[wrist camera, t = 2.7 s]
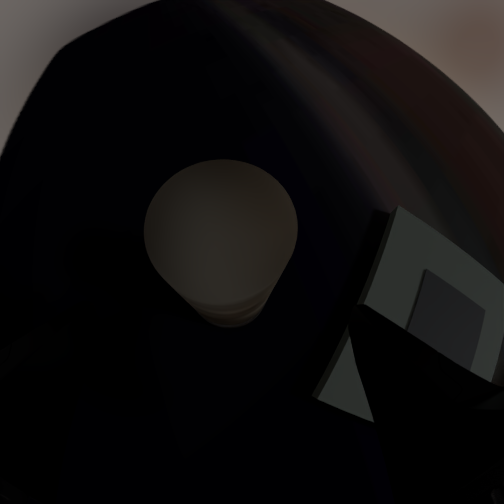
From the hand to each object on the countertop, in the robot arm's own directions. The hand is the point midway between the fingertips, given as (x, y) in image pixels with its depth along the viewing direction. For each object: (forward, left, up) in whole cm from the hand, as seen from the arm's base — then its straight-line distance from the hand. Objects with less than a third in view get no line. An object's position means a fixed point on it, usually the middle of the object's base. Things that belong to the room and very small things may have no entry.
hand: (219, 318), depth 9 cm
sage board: (+14, -8, -10) cm, 19 cm away
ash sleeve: (+1, +3, -10) cm, 10 cm away
